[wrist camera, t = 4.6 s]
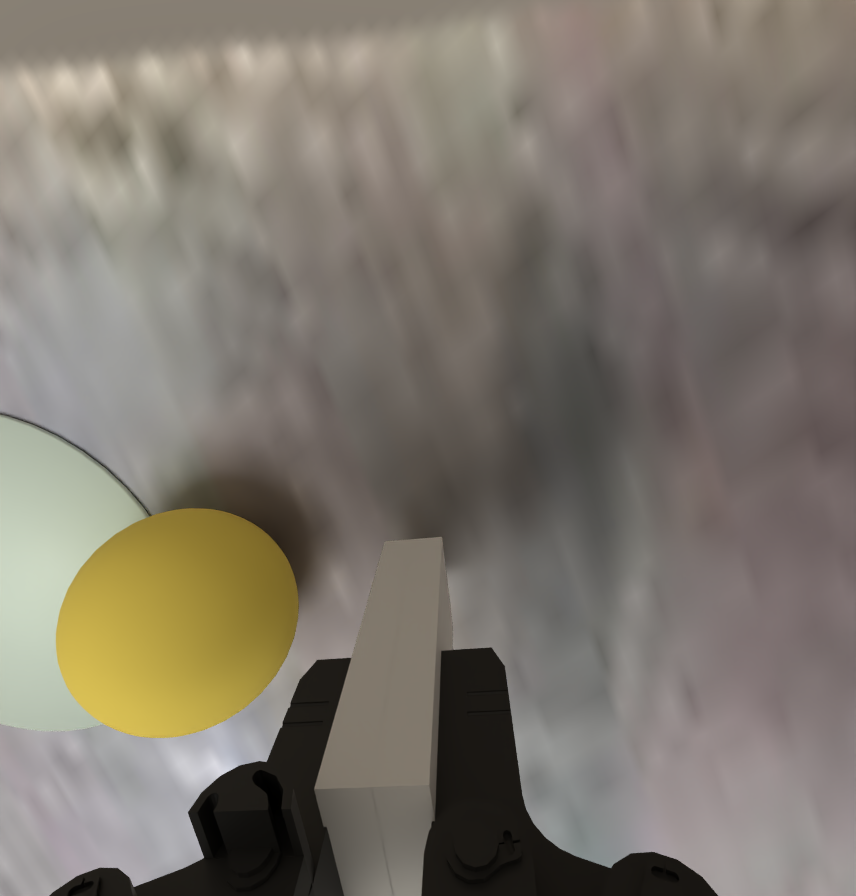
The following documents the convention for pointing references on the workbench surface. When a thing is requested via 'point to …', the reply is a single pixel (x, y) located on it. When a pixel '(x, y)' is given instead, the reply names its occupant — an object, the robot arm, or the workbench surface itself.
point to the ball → (177, 623)
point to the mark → (47, 564)
